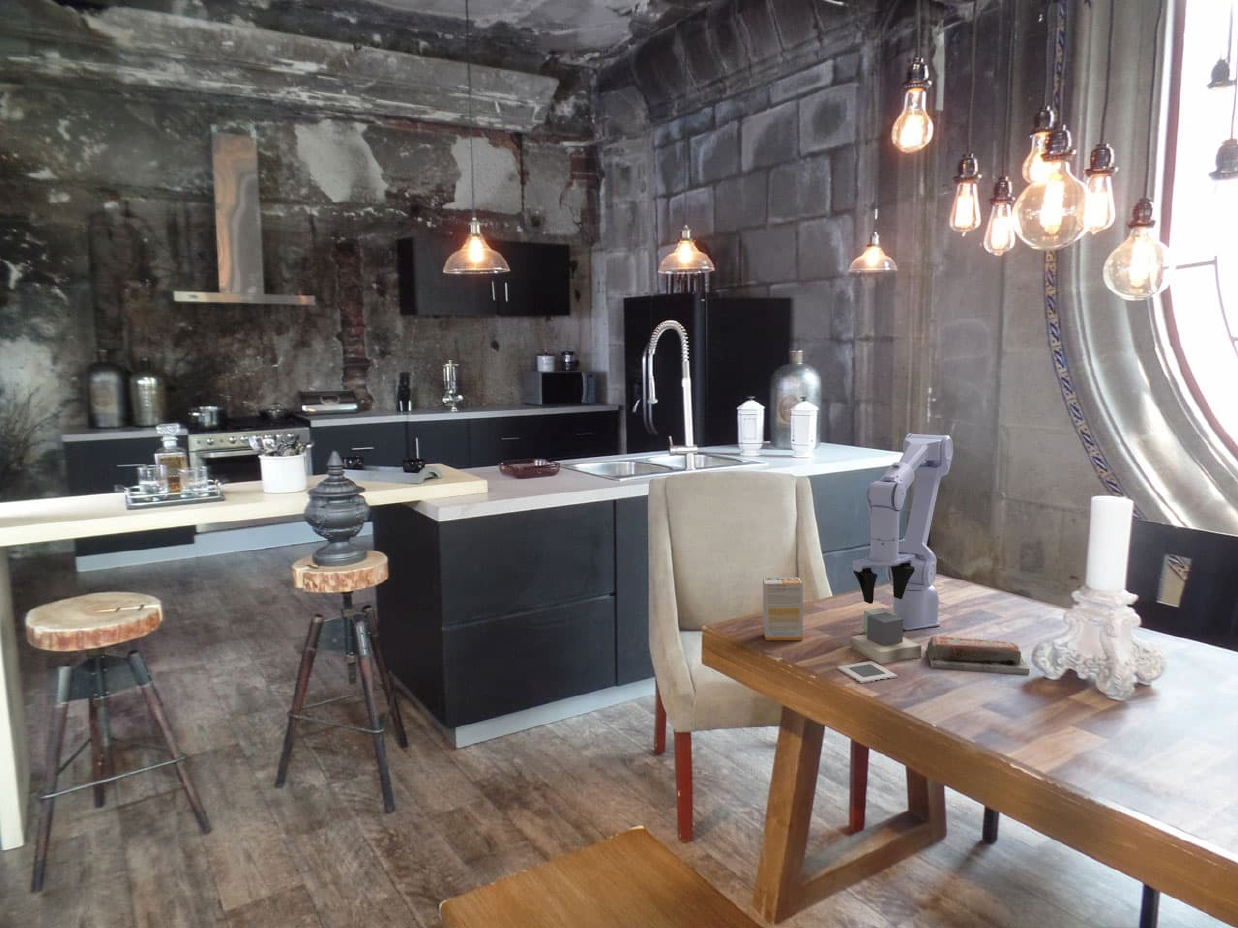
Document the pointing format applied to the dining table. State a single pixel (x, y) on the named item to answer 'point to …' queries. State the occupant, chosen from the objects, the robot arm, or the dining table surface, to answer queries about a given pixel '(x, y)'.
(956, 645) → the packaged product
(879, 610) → the sage block
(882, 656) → the birch base block
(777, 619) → the supplement box
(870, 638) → the charcoal block
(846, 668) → the tile
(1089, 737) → the dining table surface
